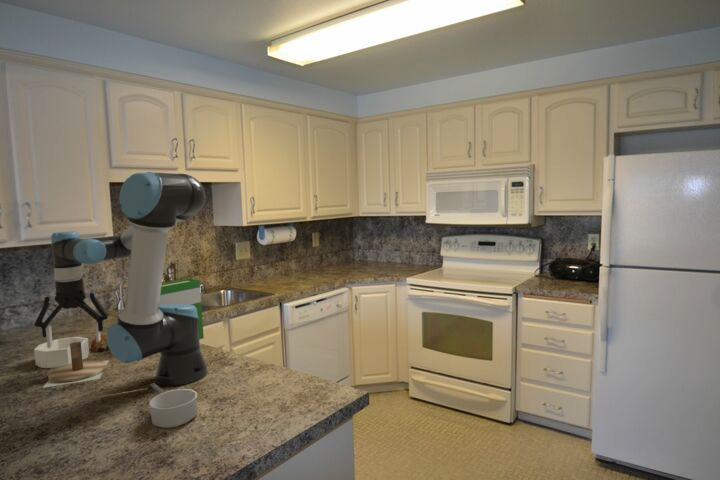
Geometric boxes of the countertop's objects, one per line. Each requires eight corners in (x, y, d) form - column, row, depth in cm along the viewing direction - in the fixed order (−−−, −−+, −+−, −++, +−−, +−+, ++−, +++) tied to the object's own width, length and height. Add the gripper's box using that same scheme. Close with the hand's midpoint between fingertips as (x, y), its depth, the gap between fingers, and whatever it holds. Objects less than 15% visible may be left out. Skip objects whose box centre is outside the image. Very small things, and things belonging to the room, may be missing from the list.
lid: (101, 377, 141) (98, 346, 140) (41, 386, 135) (38, 354, 134) (110, 360, 156) (107, 333, 155) (56, 368, 150) (53, 339, 149)
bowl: (83, 365, 154) (81, 346, 154) (31, 372, 149) (29, 353, 148) (92, 351, 168) (90, 335, 168) (45, 358, 163) (43, 340, 162)
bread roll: (124, 355, 174) (128, 334, 177) (107, 352, 164) (111, 330, 167) (100, 355, 175) (104, 334, 178) (82, 352, 166) (87, 330, 168)
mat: (99, 380, 140) (99, 378, 140) (42, 389, 134) (42, 387, 134) (109, 361, 157) (108, 360, 156) (59, 368, 151) (59, 367, 151)
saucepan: (174, 395, 127) (172, 377, 126) (206, 418, 113) (205, 397, 112) (131, 410, 119) (129, 390, 118) (161, 436, 105) (159, 413, 104)
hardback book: (161, 350, 167) (156, 287, 164) (151, 347, 171) (146, 285, 169) (203, 338, 180) (199, 279, 178) (193, 335, 185) (189, 278, 183)
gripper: (114, 274, 150) (119, 335, 153) (26, 281, 142) (32, 345, 144) (111, 278, 144) (116, 341, 146) (18, 285, 135) (24, 352, 137)
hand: (74, 343), depth 145 cm, fingers open, 13 cm apart
